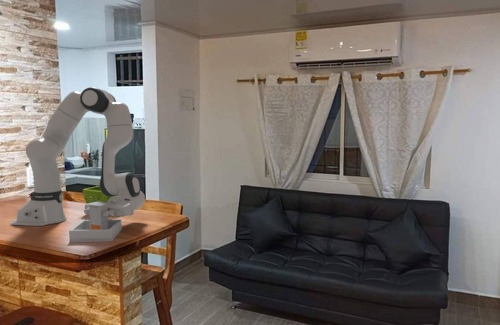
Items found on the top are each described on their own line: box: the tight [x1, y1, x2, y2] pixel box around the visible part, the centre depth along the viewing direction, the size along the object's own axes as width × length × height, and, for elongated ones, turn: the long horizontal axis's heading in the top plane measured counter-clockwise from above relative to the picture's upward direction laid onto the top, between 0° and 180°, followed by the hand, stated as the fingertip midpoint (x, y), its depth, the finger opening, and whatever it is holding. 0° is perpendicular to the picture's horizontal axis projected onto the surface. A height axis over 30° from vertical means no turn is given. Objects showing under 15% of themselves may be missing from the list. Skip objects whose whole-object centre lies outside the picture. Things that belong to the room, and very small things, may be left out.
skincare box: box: [89, 203, 109, 230], centre depth 163 cm, size 6×4×12 cm
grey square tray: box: [68, 219, 123, 243], centre depth 163 cm, size 16×16×4 cm
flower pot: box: [82, 185, 118, 204], centre depth 202 cm, size 14×14×13 cm
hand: (94, 213), depth 161 cm, fingers open, 8 cm apart
